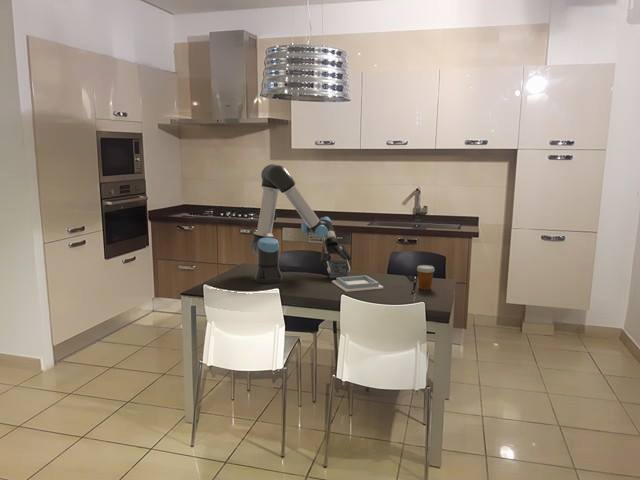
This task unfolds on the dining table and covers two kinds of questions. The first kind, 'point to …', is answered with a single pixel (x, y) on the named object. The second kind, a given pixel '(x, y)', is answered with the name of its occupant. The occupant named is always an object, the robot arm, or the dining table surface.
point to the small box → (337, 268)
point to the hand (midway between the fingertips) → (339, 271)
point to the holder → (356, 283)
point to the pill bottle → (425, 276)
